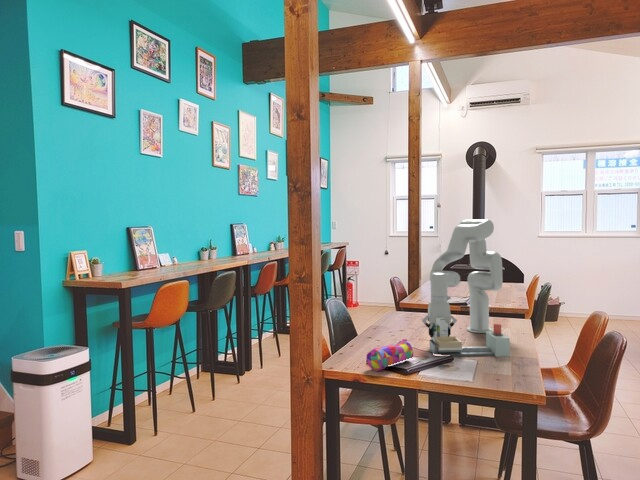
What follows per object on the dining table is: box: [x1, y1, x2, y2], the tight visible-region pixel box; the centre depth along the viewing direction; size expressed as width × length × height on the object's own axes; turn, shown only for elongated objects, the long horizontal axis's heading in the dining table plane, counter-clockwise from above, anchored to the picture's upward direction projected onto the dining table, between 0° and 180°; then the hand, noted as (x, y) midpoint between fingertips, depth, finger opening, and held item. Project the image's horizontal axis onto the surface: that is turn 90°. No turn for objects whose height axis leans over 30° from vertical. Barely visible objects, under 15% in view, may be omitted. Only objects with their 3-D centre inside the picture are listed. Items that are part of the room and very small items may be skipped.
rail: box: [429, 339, 496, 358], centre depth 202 cm, size 10×26×5 cm, turn 89°
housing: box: [485, 330, 511, 357], centre depth 202 cm, size 12×6×8 cm, turn 179°
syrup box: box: [430, 317, 448, 342], centre depth 213 cm, size 6×6×14 cm
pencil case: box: [366, 338, 414, 372], centre depth 188 cm, size 22×9×9 cm, turn 133°
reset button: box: [493, 323, 502, 336], centre depth 202 cm, size 3×3×7 cm
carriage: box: [434, 335, 464, 352], centre depth 202 cm, size 10×10×5 cm
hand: (439, 336), depth 213 cm, fingers closed on syrup box, 7 cm apart
